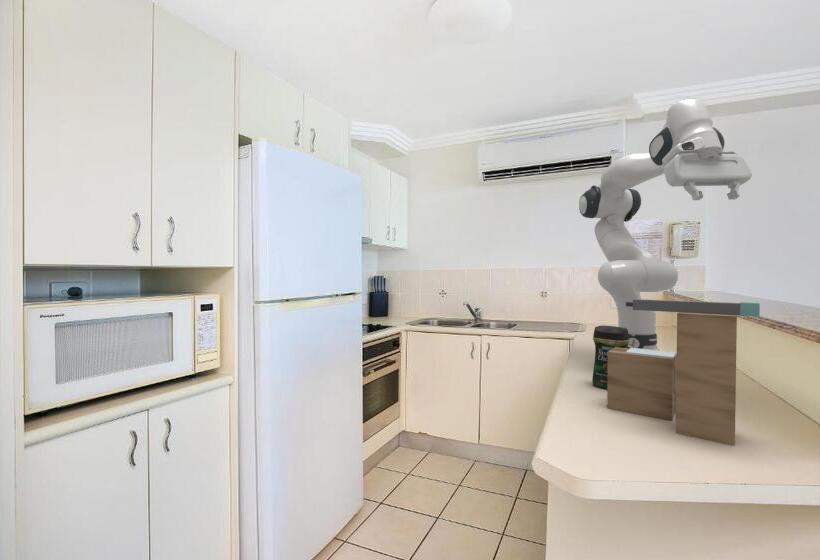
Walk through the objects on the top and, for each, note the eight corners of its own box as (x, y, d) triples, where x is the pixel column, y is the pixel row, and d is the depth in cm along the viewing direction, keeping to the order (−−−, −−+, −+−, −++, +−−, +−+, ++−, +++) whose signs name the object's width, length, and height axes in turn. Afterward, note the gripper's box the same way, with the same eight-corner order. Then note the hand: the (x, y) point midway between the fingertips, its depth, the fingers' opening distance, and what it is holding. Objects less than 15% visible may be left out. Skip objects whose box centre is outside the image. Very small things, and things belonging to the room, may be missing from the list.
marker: (627, 308, 97) (627, 298, 97) (758, 315, 82) (759, 302, 82) (625, 309, 95) (625, 298, 95) (759, 316, 80) (759, 303, 80)
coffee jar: (588, 386, 123) (589, 325, 122) (598, 381, 128) (599, 323, 128) (623, 393, 116) (623, 329, 115) (631, 387, 121) (632, 326, 121)
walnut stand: (614, 400, 109) (615, 304, 109) (735, 422, 93) (736, 310, 93) (598, 416, 97) (599, 309, 96) (734, 445, 81) (736, 316, 80)
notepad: (631, 349, 106) (631, 347, 106) (676, 354, 100) (676, 352, 100) (625, 353, 101) (625, 351, 101) (673, 358, 94) (673, 357, 94)
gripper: (728, 159, 108) (745, 204, 104) (655, 160, 107) (669, 206, 103) (748, 144, 102) (767, 191, 98) (671, 144, 101) (686, 192, 97)
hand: (716, 198), depth 100 cm, fingers open, 8 cm apart
